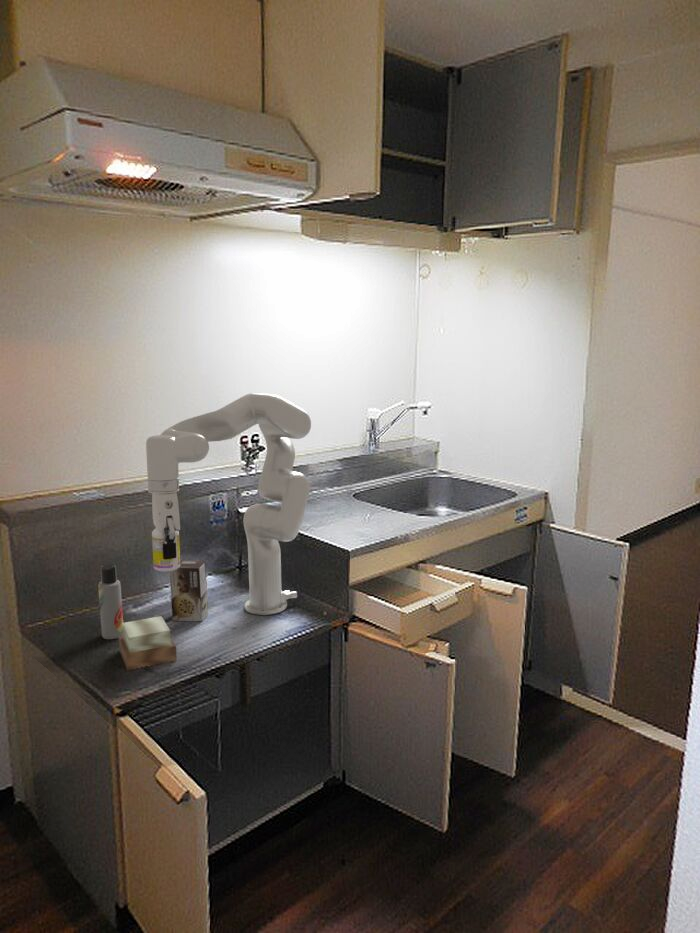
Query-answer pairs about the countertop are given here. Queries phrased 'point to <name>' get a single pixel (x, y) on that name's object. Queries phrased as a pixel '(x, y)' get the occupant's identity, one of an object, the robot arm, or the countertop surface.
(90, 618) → the countertop surface
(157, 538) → the supplement bottle
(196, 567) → the coffee box
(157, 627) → the cream slab tan edge
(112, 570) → the lotion bottle
